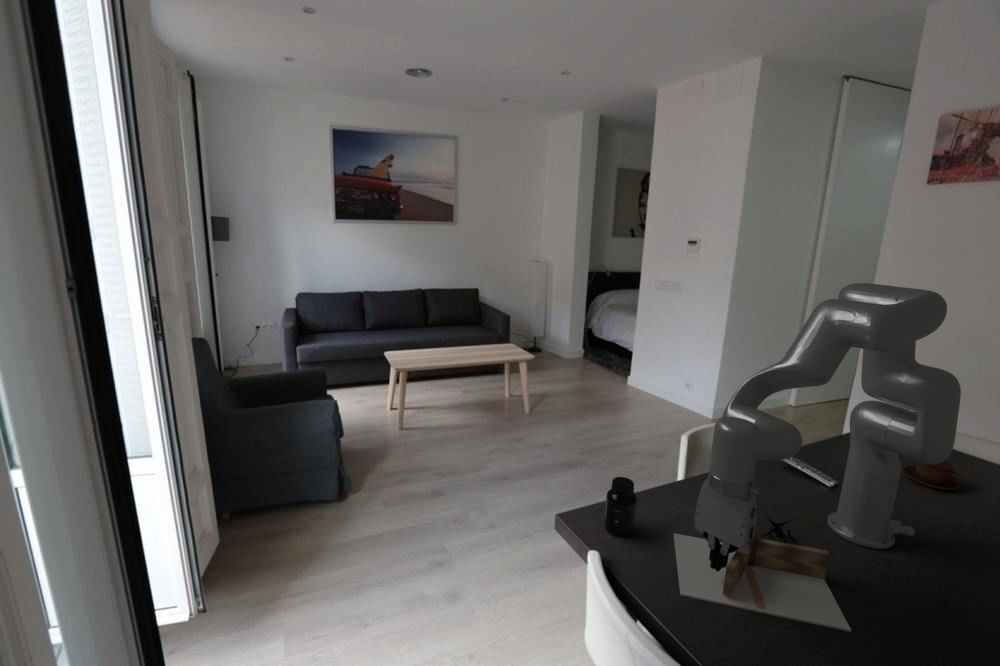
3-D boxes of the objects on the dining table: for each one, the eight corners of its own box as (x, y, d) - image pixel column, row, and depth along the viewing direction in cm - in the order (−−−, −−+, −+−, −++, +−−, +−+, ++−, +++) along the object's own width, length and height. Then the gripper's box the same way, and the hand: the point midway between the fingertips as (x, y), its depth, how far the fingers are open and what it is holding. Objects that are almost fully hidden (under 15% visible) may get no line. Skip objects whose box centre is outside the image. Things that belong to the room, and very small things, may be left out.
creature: (802, 560, 101) (793, 532, 108) (807, 543, 99) (798, 515, 106) (762, 552, 104) (756, 525, 110) (766, 535, 101) (760, 508, 108)
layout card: (813, 560, 100) (814, 558, 100) (852, 632, 82) (852, 630, 82) (673, 534, 107) (673, 532, 107) (680, 595, 89) (680, 593, 89)
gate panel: (741, 562, 97) (745, 537, 96) (747, 565, 97) (751, 540, 95) (722, 594, 89) (726, 566, 87) (729, 597, 88) (733, 569, 87)
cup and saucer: (953, 479, 134) (958, 460, 133) (965, 499, 124) (970, 478, 123) (899, 468, 141) (903, 449, 139) (906, 485, 131) (911, 465, 129)
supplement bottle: (598, 529, 109) (602, 482, 106) (612, 516, 114) (616, 471, 111) (626, 542, 104) (630, 493, 102) (639, 528, 109) (644, 481, 107)
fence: (821, 574, 96) (827, 544, 94) (825, 582, 93) (832, 552, 92) (738, 558, 100) (743, 529, 98) (740, 566, 97) (745, 536, 96)
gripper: (779, 492, 86) (765, 579, 90) (700, 461, 97) (690, 540, 101) (764, 507, 81) (749, 598, 85) (682, 473, 92) (672, 555, 96)
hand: (717, 566), depth 93 cm, fingers closed
